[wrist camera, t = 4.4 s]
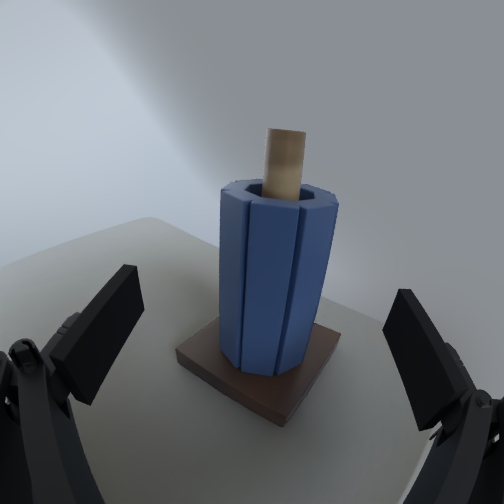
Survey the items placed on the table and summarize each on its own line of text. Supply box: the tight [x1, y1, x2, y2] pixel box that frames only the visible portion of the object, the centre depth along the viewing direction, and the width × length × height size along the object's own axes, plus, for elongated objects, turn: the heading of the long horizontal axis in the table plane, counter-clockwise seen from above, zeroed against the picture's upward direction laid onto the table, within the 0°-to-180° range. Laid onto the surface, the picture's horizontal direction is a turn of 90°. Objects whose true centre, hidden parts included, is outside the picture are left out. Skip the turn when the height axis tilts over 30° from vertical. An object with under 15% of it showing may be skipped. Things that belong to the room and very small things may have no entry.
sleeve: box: [219, 179, 339, 377], centre depth 17 cm, size 6×6×11 cm
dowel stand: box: [176, 128, 341, 427], centre depth 16 cm, size 9×9×16 cm
